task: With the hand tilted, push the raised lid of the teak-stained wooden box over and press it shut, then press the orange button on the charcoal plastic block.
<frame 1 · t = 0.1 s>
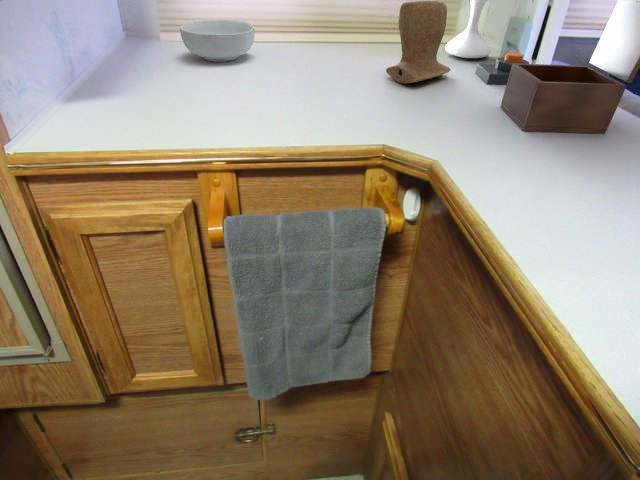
button block: (507, 79, 94), on the countertop
cereal bowl: (220, 58, 102), on the countertop
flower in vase: (464, 56, 111), on the countertop
brown flared post: (413, 78, 94), on the countertop
lid: (632, 23, 65), point 15 cm above the countertop, hinge at 95.0°
chest: (549, 119, 74), on the countertop
button: (513, 58, 91), point 4 cm above the countertop, slide at 0.1 cm
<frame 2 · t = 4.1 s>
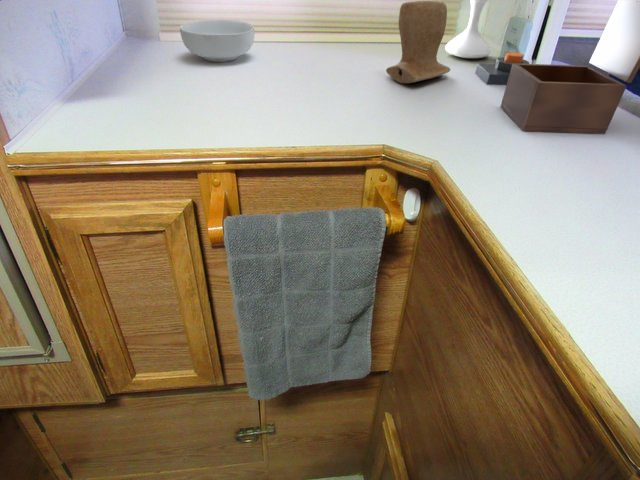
nothing on the countertop moved.
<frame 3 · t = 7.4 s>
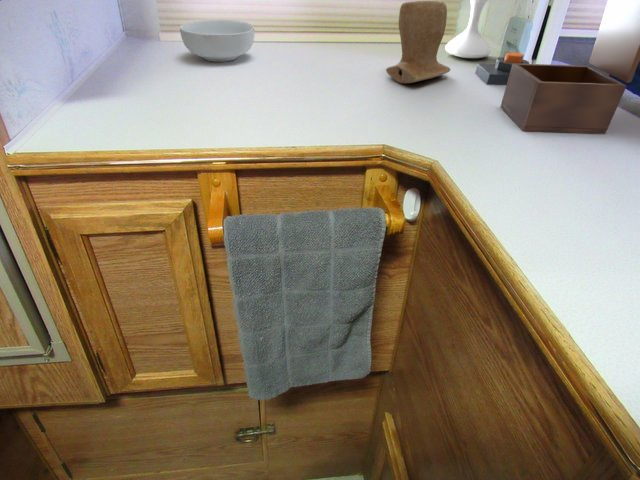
lid: (624, 23, 65), point 15 cm above the countertop, hinge at 85.3°, touching gripper
everything else where it was.
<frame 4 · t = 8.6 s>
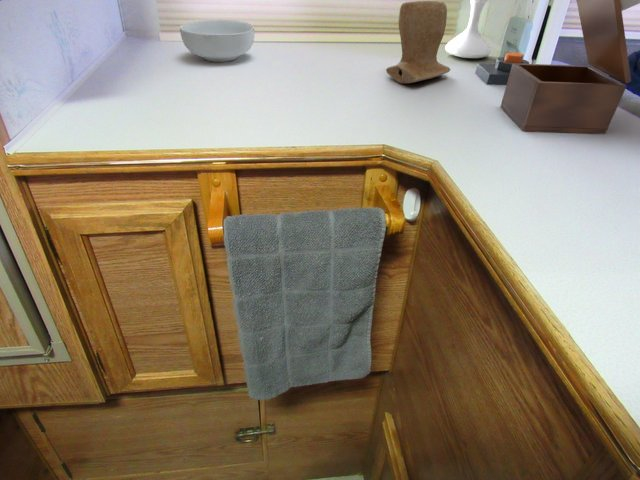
hand: (603, 12, 64), 17 cm above the countertop, tool tilted 45°, fingers closed, pressing on lid
lid: (601, 30, 66), point 14 cm above the countertop, hinge at 58.6°, touching gripper
everything else where it was.
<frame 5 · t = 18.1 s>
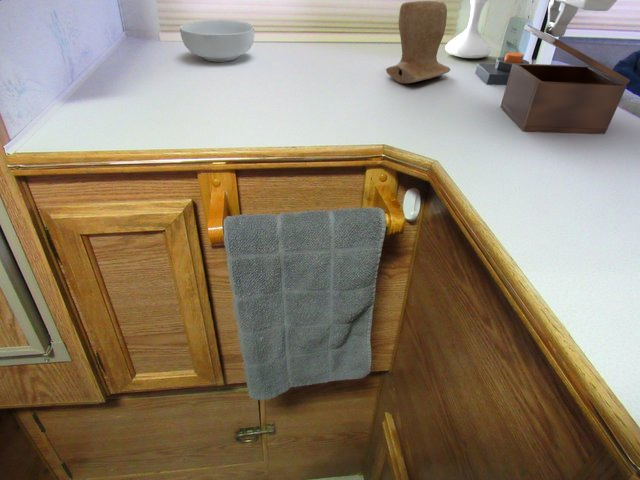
hand: (553, 35, 66), 13 cm above the countertop, tool pointing down, fingers closed, pressing on lid
lid: (574, 53, 68), point 11 cm above the countertop, hinge at 22.1°, touching gripper
everything else where it was.
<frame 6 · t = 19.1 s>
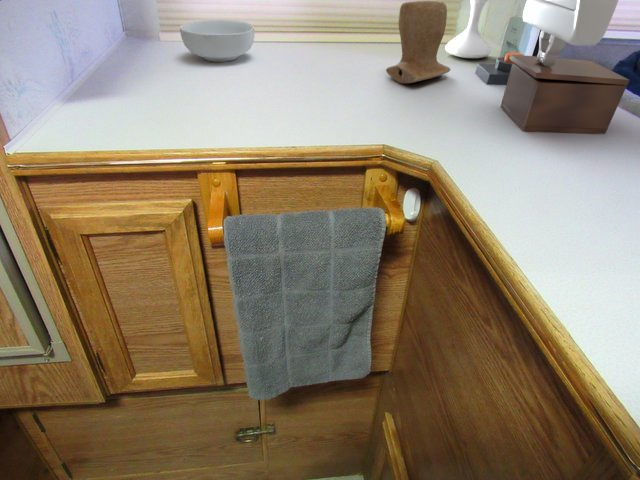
hand: (544, 64, 69), 9 cm above the countertop, tool pointing down, fingers closed, pressing on lid
lid: (565, 68, 69), point 9 cm above the countertop, hinge at 2.4°, touching gripper
everything else where it was.
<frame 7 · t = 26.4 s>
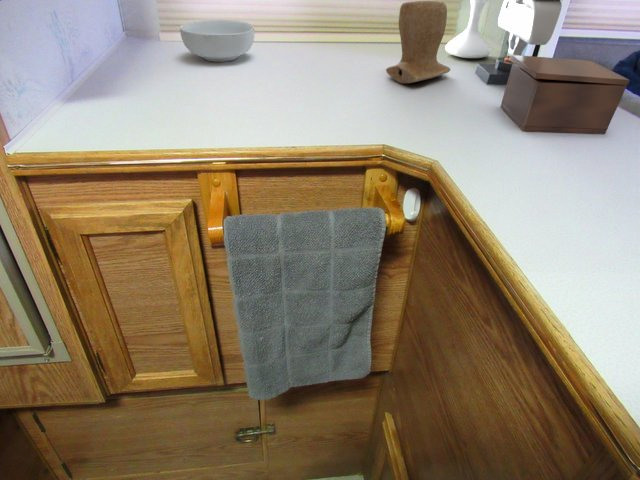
hand: (513, 58, 91), 4 cm above the countertop, tool pointing down, fingers closed, pressing on button
lid: (565, 69, 69), point 9 cm above the countertop, hinge at 2.2°
button: (512, 62, 92), point 4 cm above the countertop, slide at -0.8 cm, touching gripper
everything else where it was.
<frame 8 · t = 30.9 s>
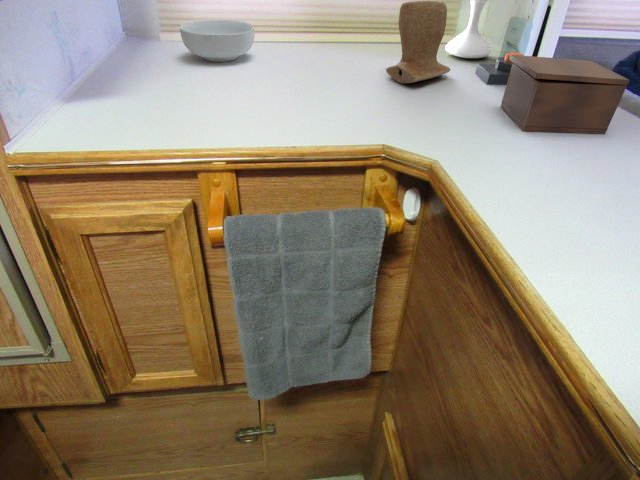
button: (513, 58, 91), point 4 cm above the countertop, slide at 0.1 cm
everything else where it was.
at the end: lid at +2° (first picture: +95°); button pushed in 1.0 cm at the most during the clip, back to where it started at the end; button slide at 0.1 cm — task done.
